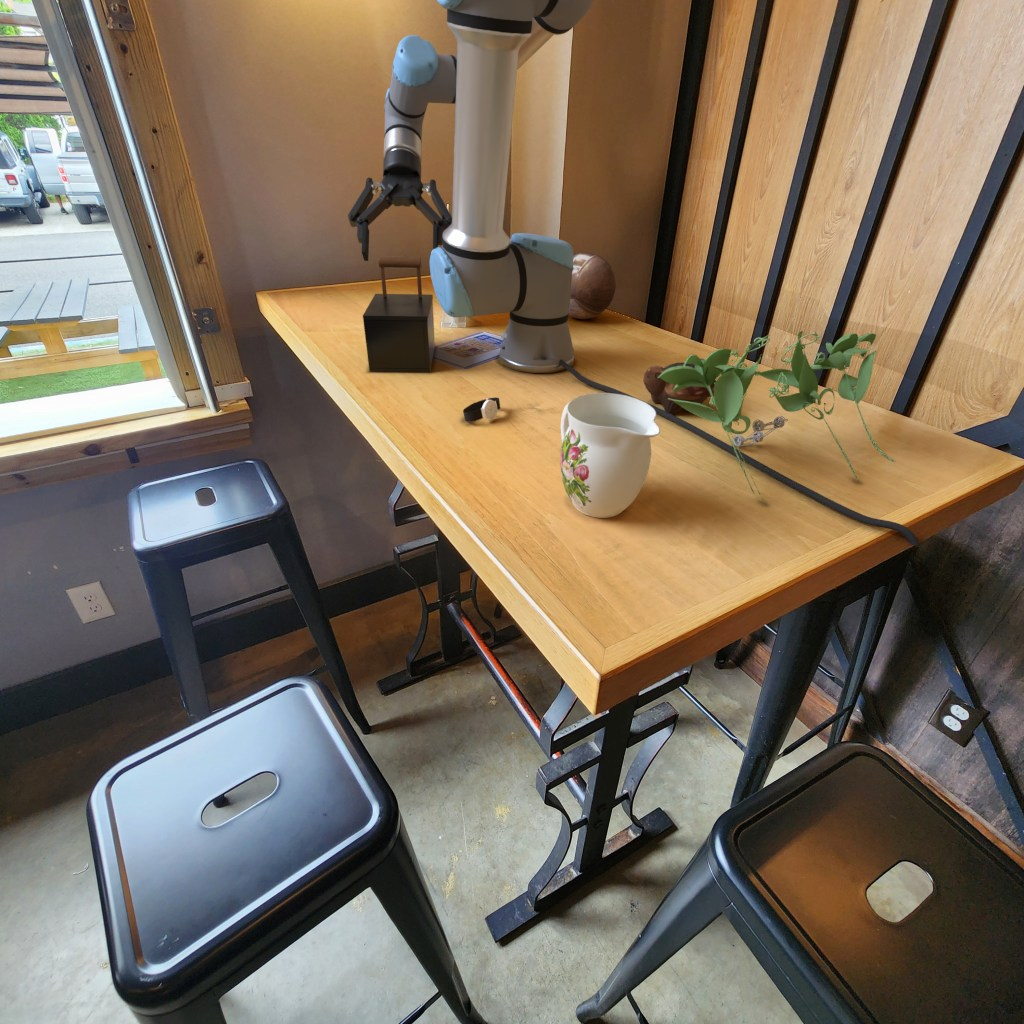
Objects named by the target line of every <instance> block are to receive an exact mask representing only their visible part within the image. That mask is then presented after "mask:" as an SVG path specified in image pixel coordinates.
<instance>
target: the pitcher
mask: <svg viewBox="0 0 1024 1024" xmlns="http://www.w3.org/2000/svg"><path fill="white" fill-rule="evenodd" d="M630 396H631V395H630ZM630 396H626V395H620V394H613V393H609V392H594V393H593V392H592V393H588V394H581V395H579V396H577V397H575V398H572V399H571V401H569V402H568V403H566V405H565V406H564V407H563V410H562V412H561V413H562V414H561V418H560V439H561V448H560V457H559V466H560V476H561V481H562V484H563V487H564V490H565V493H566V495H567V497H568V499H569V501H570V502H571V503H572V504H573V506H574V508H575V509H576V510H577V511H578V512H580V513H581V514H583V515H585V516H588V517H592V518H598V519H607V518H613V517H616V516H618V515H619V514H621V513H623V511H625V510H626V509H627V508H629V507H630V506H631V505H632V503H633V502H634V501H635V499H636V498H637V497H638V496H639V494H640V491H642V488H643V486H644V484H645V481H646V479H647V477H648V474H649V470H650V466H651V458H652V444H651V443H652V442H651V438H654V437H656V436H659V434H660V433H661V430H660V427H659V425H658V424H657V422H656V421H655V420H656V418H657V413H656V411H655V409H654V408H653V407H651V406H650V405H649V404H650V403H649V404H647V403H648V402H646V401H644V400H642V401H641V399H640V400H639V398H637V397H635V398H633V397H634V396H633V397H630ZM636 398H637V399H636ZM643 401H644V402H643ZM645 402H646V403H645Z"/></svg>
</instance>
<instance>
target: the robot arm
mask: <svg viewBox="0 0 1024 1024" xmlns="http://www.w3.org/2000/svg"><path fill="white" fill-rule="evenodd" d="M436 1H437V3H438V4H439V5H440V6H441V7H443V9H445V10H446V25H447V27H448V28H449V30H450V31H451V33H452V34H453V36H454V38H455V39H456V42H457V45H456V48H457V49H456V54H455V55H454V54H441V53H437V50H436V48H435V47H434V46H433V45H434V44H432V43H431V42H430V41H429V40H428V39H423V38H421V36H419V35H415V34H411V35H407V36H404V37H403V38H402V39H401V40H400V41H399V43H398V44H397V46H396V47H397V48H396V50H395V54H394V58H393V61H392V67H391V68H392V69H391V78H390V83H389V84H390V85H389V87H388V88H387V91H386V93H385V98H384V105H383V110H384V136H383V162H382V163H383V164H382V179H381V181H374V180H373V178H372V177H367V178H366V180H365V184H364V188H363V190H362V191H361V193H360V194H359V196H358V197H357V199H356V201H355V203H354V204H353V206H352V208H351V209H350V211H349V213H348V214H347V219H348V222H349V225H350V227H352V228H355V227H356V238H357V241H358V243H359V244H361V255H362V258H363V261H364V262H369V254H370V253H369V252H370V229H369V226H370V225H371V224H372V223H373V222H374V221H375V220H376V219H378V217H379V216H381V214H382V213H384V212H385V210H388V209H389V208H390V207H392V205H393V206H394V207H406V208H407V207H408V208H409V207H411V206H414V207H415V209H416V210H417V211H419V212H420V213H421V214H422V215H423V216H424V218H426V219H427V220H428V221H429V223H430V224H431V225H432V250H431V252H430V256H429V271H430V278H431V283H432V286H433V291H434V293H435V297H436V299H437V302H438V303H439V306H440V307H441V309H442V310H443V311H444V313H445V314H446V315H447V316H450V318H451V317H452V318H473V317H479V316H490V315H497V314H498V315H499V314H505V313H506V314H507V313H509V316H508V317H509V319H508V323H507V327H506V330H505V332H503V331H501V333H500V337H501V338H502V341H501V344H500V348H499V362H500V363H501V364H503V366H505V367H507V368H510V369H512V370H514V371H519V372H524V373H532V374H551V373H556V372H557V373H558V372H561V371H565V370H567V371H568V372H569V373H570V374H572V375H573V376H574V377H575V378H576V379H577V380H578V381H580V382H582V383H584V384H585V385H588V386H590V387H592V388H594V389H597V390H600V391H603V392H605V393H613V394H620V395H626V396H630V397H633V398H636V399H639V398H638V397H635V396H633V395H630V394H628V393H626V392H623V391H621V390H618V389H616V388H614V387H611V386H607V385H605V384H602V383H599V382H597V381H593V380H591V379H589V378H587V377H586V376H584V375H582V374H581V373H580V372H578V371H577V369H575V368H574V367H572V366H573V365H574V363H575V349H574V345H573V339H572V336H571V332H570V331H571V330H570V327H569V326H570V325H569V305H570V294H571V282H572V271H573V270H574V268H573V256H574V249H573V246H572V245H571V244H570V243H569V242H567V241H565V240H563V239H559V238H556V237H552V236H546V235H540V234H534V233H526V232H525V233H524V232H517V233H512V235H511V237H509V235H508V234H507V233H506V232H505V230H504V217H505V206H506V195H507V184H508V171H509V163H510V162H509V161H510V151H511V139H512V129H513V118H514V106H515V96H516V85H517V84H516V83H517V74H518V70H519V69H521V68H522V66H523V65H525V64H526V62H527V61H528V60H530V59H531V57H532V56H534V55H535V54H536V53H537V52H538V51H539V50H540V49H541V48H542V47H543V46H544V45H545V44H546V43H547V42H549V41H550V39H552V38H553V37H554V36H561V35H564V34H566V33H568V32H570V31H571V30H572V29H573V28H574V27H575V26H576V25H577V24H578V23H579V22H580V21H581V20H582V19H583V18H584V17H585V16H586V14H587V13H588V11H590V8H591V6H592V4H593V3H594V1H595V0H436ZM429 104H452V105H455V109H454V110H455V113H454V140H453V141H454V143H453V173H452V174H453V175H452V176H453V177H452V203H451V205H452V207H451V208H452V209H451V213H450V211H449V209H448V207H447V205H446V204H445V202H444V200H443V198H442V197H441V195H440V193H439V191H438V188H437V182H436V181H437V180H436V179H430V180H429V182H428V183H423V182H422V153H423V152H422V143H423V141H422V139H423V138H422V136H423V124H424V120H425V119H424V118H425V114H426V113H427V109H428V106H429ZM379 191H381V192H380V193H379V196H378V197H377V198H376V199H375V200H374V201H373V199H374V196H376V195H377V193H378V192H379ZM424 192H425V193H426V194H427V195H428V197H429V198H431V200H432V202H433V205H434V206H435V208H436V210H437V212H438V213H437V212H436V211H435V209H433V208H432V206H431V205H430V204H429V203H428V202H427V201H426V200H425V198H423V196H422V195H423V194H424ZM372 201H373V202H372ZM371 202H372V203H371ZM639 400H641V399H639ZM641 401H643V402H645V403H647V404H649V405H650V406H651V407H653V408H654V409H655V411H656V415H659V416H661V417H663V418H665V419H667V420H669V421H671V422H673V423H675V424H677V425H678V426H680V427H682V428H684V429H686V430H688V431H690V432H691V433H694V434H696V435H697V436H699V437H701V438H703V439H705V440H706V441H708V442H710V443H711V444H713V445H715V446H717V447H719V448H721V449H722V450H724V451H726V452H727V453H729V454H730V455H733V456H734V457H736V458H737V456H736V454H735V451H734V449H733V447H732V445H730V444H728V443H726V442H725V441H723V440H721V439H719V438H717V437H715V436H713V435H712V434H710V433H709V432H706V431H705V430H703V429H701V428H699V427H697V426H695V425H693V424H692V423H689V422H688V421H685V420H684V419H682V418H679V417H678V416H676V415H674V414H673V413H672V414H670V413H668V412H666V411H665V409H664V410H663V409H662V408H660V407H657V406H655V405H653V404H651V403H649V402H646V401H644V400H641ZM735 449H736V452H737V454H738V456H739V458H740V461H741V460H742V461H743V460H744V461H743V462H745V464H748V465H750V466H752V467H754V468H755V469H756V470H759V471H761V472H763V473H764V474H766V475H768V476H770V477H771V478H773V479H775V480H777V481H779V482H780V483H782V484H784V485H786V486H787V487H789V488H791V489H793V490H795V491H797V492H799V493H800V494H803V495H805V496H807V497H808V498H811V499H812V500H814V501H817V502H818V503H820V504H822V505H824V506H826V507H828V508H830V509H831V510H833V511H835V512H837V513H839V514H841V515H844V516H846V517H848V518H850V519H852V520H855V521H857V522H859V523H862V524H864V525H868V526H872V527H876V528H882V529H886V530H891V531H894V532H897V533H899V534H900V535H902V536H903V537H904V539H906V541H907V542H908V543H909V544H910V545H911V546H913V547H917V548H919V547H920V546H921V544H920V543H921V542H920V540H919V539H918V538H917V535H916V534H915V533H914V532H913V531H912V530H911V529H910V528H908V527H907V526H906V525H903V524H901V523H898V522H895V521H891V520H886V519H880V518H876V517H871V516H867V515H865V514H862V513H860V512H857V511H855V510H854V509H851V508H849V507H846V506H844V505H842V504H840V503H838V502H837V501H835V500H832V499H831V498H829V497H827V496H825V495H822V494H820V493H819V492H817V491H815V490H812V489H811V488H809V487H807V486H805V485H803V484H802V483H799V482H798V481H795V480H794V479H791V478H790V477H788V476H787V475H784V474H783V473H781V472H778V470H775V469H773V468H772V467H770V466H768V465H766V464H763V463H762V462H760V461H758V460H757V459H755V458H753V457H751V456H749V455H747V453H744V452H742V451H741V450H740V449H739V450H738V448H735ZM739 451H740V452H739ZM740 453H741V454H740ZM741 455H742V456H741ZM742 457H743V459H742Z"/></svg>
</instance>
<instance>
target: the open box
mask: <svg viewBox="0 0 1024 1024" xmlns="http://www.w3.org/2000/svg"><path fill="white" fill-rule="evenodd" d="M362 320H363V319H362ZM362 322H363V329H364V338H365V345H366V346H365V347H366V355H367V363H368V371H369V373H431V371H432V365H433V359H434V354H435V349H436V341H435V320H434V301H433V300H432V304H431V308H430V312H429V316H428V320H427V321H404V320H363V321H362Z"/></svg>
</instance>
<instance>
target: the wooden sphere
mask: <svg viewBox="0 0 1024 1024" xmlns="http://www.w3.org/2000/svg"><path fill="white" fill-rule="evenodd" d="M573 268H574V270H573V271H572V282H571V294H570V305H569V316H570V317H571V318H574V319H578V320H589V319H593V318H595V317H598V316H599V315H601V314H602V313H604V312H605V311H606V310H607V309H608V307H609V306H610V305H611V303H612V301H613V300H614V297H615V293H616V286H617V284H616V283H617V282H616V275H615V272H614V270H613V268H612V266H611V265H610V264H609V262H608V261H607V260H606V259H605V258H603V257H602V256H600V255H598V254H596V253H593V252H580V253H576V254H573ZM569 316H568V317H569Z"/></svg>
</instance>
